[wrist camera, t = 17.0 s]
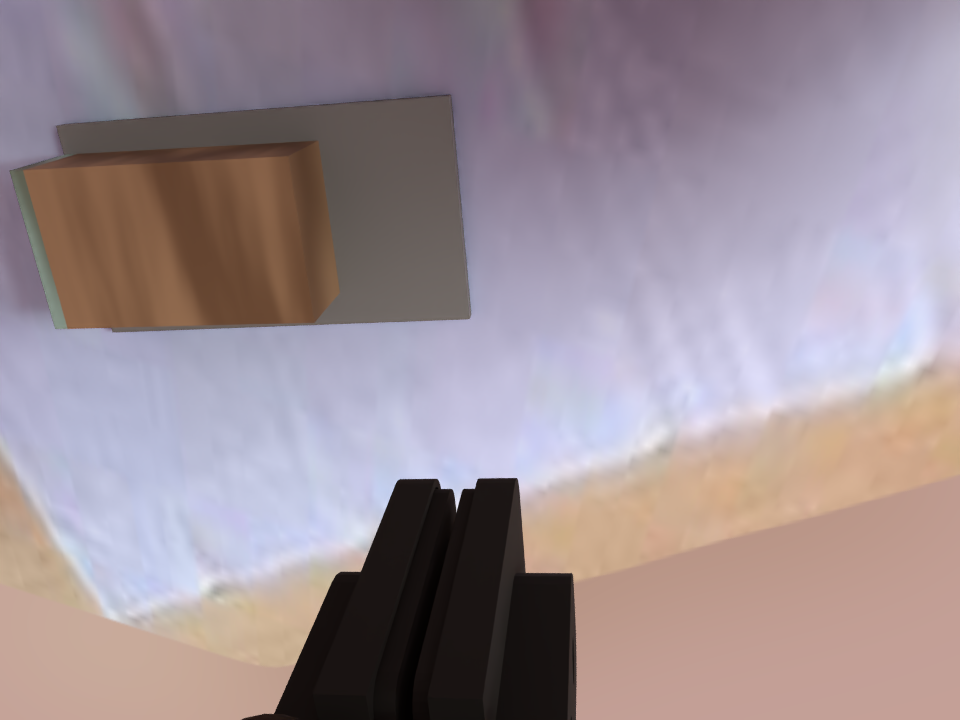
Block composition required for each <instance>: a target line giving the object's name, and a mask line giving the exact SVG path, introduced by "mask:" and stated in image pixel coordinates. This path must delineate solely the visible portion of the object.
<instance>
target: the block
mask: <svg viewBox="0 0 960 720" xmlns="http://www.w3.org/2000/svg"><path fill="white" fill-rule="evenodd" d="M10 174H11V177H12V181H13V184H14V188H15V191H16V195H17V198H18V202H19V205H20V209H21V212H22V216H23V219H24V222H25V226H26V229H27V233H28V236H29V240H30V243H31V247H32V250H33V254H34V257H35V261H36V264H37V268H38V271H39V274H40V278H41V281H42V285H43V288H44V292H45V295H46V299H47V302H48V306H49V309H50V313H51V316H52V320H53V323H54V326H55V329H76V328H117V327H159V326H201V325H242V324H284V323H315V322H316V320H317V319H318V318H319V317H320V316H321V314H322V313H323V312H324V311H325V310H326V309H327V307H328V306H329V305H330V304H331V303H332V301H333V300H334V299H335V298H336V297H337V296H338V294H339V293H340V289H339V282H338V275H337V268H336V261H335V254H334V247H333V240H332V233H331V226H330V219H329V212H328V205H327V198H326V191H325V184H324V177H323V170H322V163H321V156H320V148H319V141H302V142H284V143H266V144H247V145H229V146H211V147H193V148H175V149H157V150H138V151H120V152H102V153H84V154H66V155H62V156H59V157H55V158H52V159H48V160H45V161H41V162H38V163H35V164H31V165H28V166H24V167H21V168H18V169H14V170H11V171H10Z"/></svg>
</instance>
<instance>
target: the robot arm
mask: <svg viewBox="0 0 960 720" xmlns="http://www.w3.org/2000/svg"><path fill="white" fill-rule="evenodd" d="M242 720H576V626H575V604H574V584H573V575H572V573H526V572H525V559H524V546H523V532H522V519H521V506H520V492H519V484H518V479H517V478H486V479H478V480H477V483H476V487H475V489H463V491H462V494H461V498H460V502H459V505H458V509H457V513H456V505H455V497H454V492H453V490H452V489H441V486H440V483H439V481H438V479H400V480H398V481H397V483H396V485H395V487H394V490H393V492H392V495H391V497H390V500H389V503H388V505H387V508H386V510H385V513H384V515H383V518H382V520H381V523H380V525H379V528H378V530H377V533H376V535H375V538H374V540H373V543H372V545H371V548H370V550H369V553H368V555H367V558H366V560H365V563H364V566H363V568H362V571H361V572H340V573H338V574H337V575H336V576H335V578H334V580H333V581H332V583H331V586H330V588H329V590H328V593H327V595H326V597H325V599H324V602H323V604H322V606H321V608H320V611H319V613H318V615H317V618H316V620H315V622H314V624H313V627H312V629H311V631H310V633H309V636H308V638H307V640H306V643H305V645H304V647H303V649H302V652H301V654H300V656H299V659H298V661H297V663H296V665H295V668H294V670H293V672H292V674H291V677H290V679H289V681H288V684H287V686H286V688H285V691H284V693H283V695H282V697H281V699H280V702H279V704H278V706H277V709H276V711H275V713H274V714H262V715H258V716H253V717H248V718H244V719H242Z"/></svg>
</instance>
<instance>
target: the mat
mask: <svg viewBox="0 0 960 720" xmlns="http://www.w3.org/2000/svg"><path fill="white" fill-rule="evenodd" d="M56 127H57V131H58V134H59V138H60V142H61V145H62V149H63V153H64V155H66V154H84V153H102V152H120V151H138V150H157V149H175V148H193V147H211V146H229V145H247V144H266V143H284V142H302V141H319V148H320V156H321V163H322V170H323V177H324V184H325V191H326V198H327V205H328V212H329V219H330V226H331V233H332V240H333V247H334V254H335V261H336V268H337V275H338V282H339V289H340V293H339V294H338V296H337V297H336V298H335V299H334V300H333V301H332V303H331V304H330V305H329V306H328V307H327V309H326V310H325V311H324V312H323V313H322V314H321V316H320V317H319V318H318V319H317V320H316V322H315V323H284V324H242V325H201V326H159V327H117V328H112V331H113V332H137V331H163V330H190V329H217V328H244V327H271V326H298V325H324V324H351V323H378V322H405V321H432V320H459V319H470V317H471V306H470V295H469V284H468V273H467V262H466V252H465V241H464V230H463V219H462V208H461V198H460V187H459V176H458V165H457V154H456V144H455V133H454V122H453V111H452V101H451V95H441V96H428V97H415V98H402V99H388V100H375V101H362V102H349V103H336V104H323V105H310V106H297V107H284V108H270V109H257V110H244V111H231V112H218V113H205V114H192V115H179V116H166V117H153V118H139V119H126V120H113V121H100V122H87V123H74V124H63V125H59V126H56Z"/></svg>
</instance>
